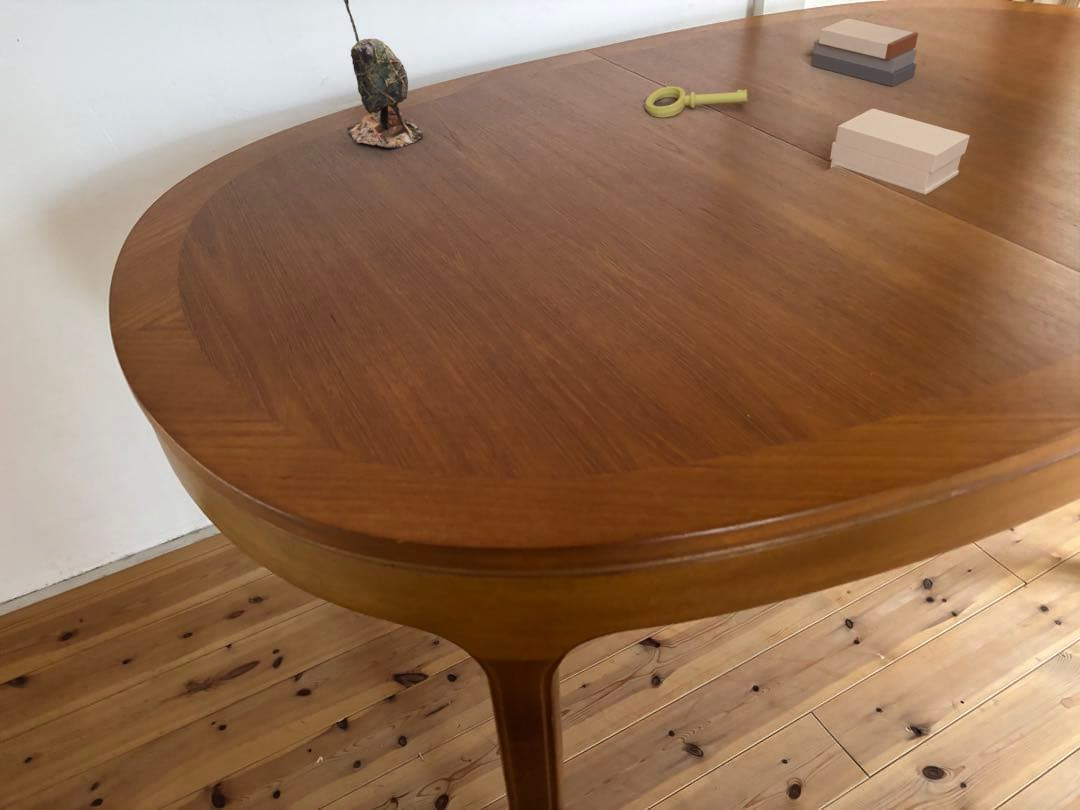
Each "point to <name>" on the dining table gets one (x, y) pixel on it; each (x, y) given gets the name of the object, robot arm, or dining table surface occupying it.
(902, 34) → the white book
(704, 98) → the key
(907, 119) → the beige box
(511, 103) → the dining table surface
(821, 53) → the grey stack
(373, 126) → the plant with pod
